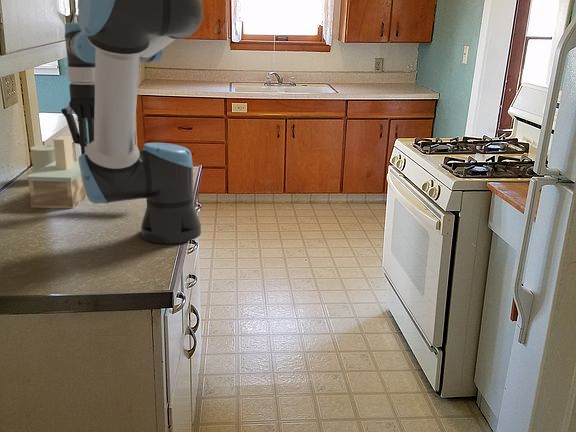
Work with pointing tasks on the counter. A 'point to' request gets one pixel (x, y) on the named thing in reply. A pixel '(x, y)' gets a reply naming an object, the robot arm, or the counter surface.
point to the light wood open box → (57, 193)
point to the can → (42, 156)
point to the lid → (59, 164)
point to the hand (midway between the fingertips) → (90, 168)
